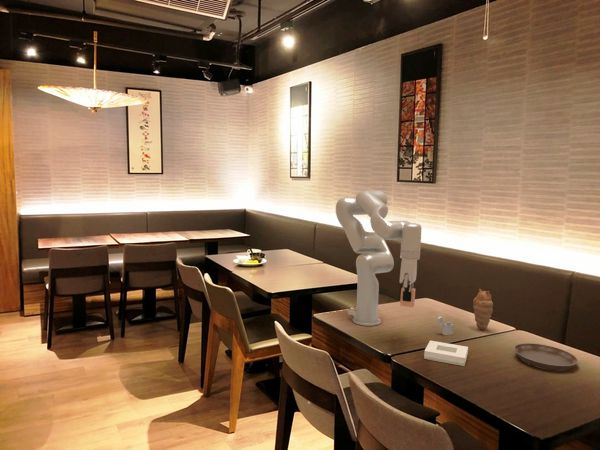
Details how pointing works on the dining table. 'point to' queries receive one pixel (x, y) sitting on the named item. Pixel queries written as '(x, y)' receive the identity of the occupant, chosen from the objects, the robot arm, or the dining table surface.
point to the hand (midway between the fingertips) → (407, 299)
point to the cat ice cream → (482, 309)
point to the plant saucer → (545, 356)
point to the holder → (446, 353)
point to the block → (406, 303)
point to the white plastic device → (445, 326)
